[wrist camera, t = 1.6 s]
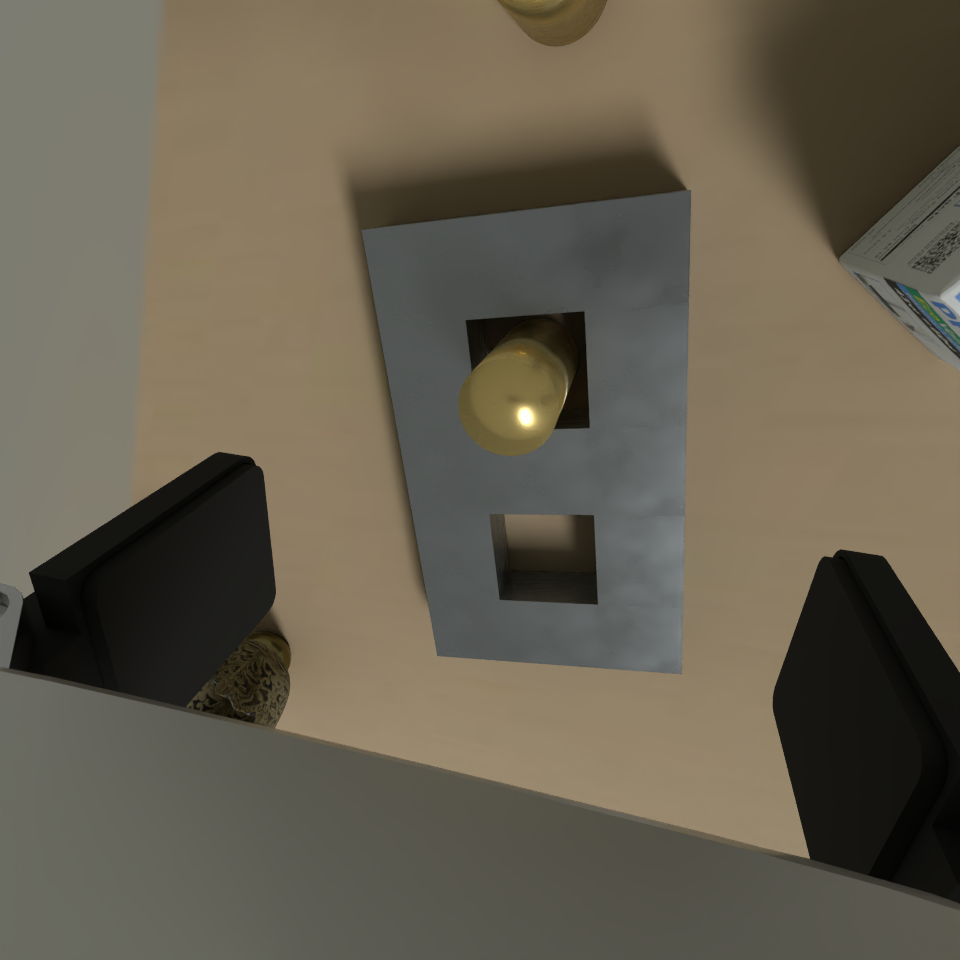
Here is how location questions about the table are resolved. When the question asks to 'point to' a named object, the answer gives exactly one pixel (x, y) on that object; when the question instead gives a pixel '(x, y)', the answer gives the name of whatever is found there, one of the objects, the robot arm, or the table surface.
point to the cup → (250, 682)
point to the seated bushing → (519, 388)
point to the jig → (575, 439)
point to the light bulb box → (918, 260)
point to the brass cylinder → (555, 18)
